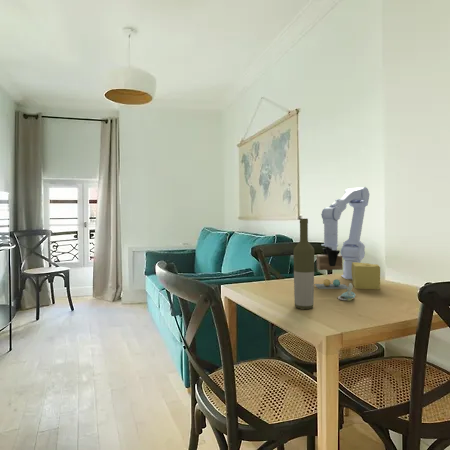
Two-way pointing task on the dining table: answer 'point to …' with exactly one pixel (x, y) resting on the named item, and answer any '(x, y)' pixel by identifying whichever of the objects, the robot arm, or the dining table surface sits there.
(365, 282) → the cheese
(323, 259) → the walnut cover
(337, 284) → the marble teal
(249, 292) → the dining table surface
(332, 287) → the mat
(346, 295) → the pacifier
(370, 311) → the dining table surface
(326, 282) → the marble amber
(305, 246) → the bottle
